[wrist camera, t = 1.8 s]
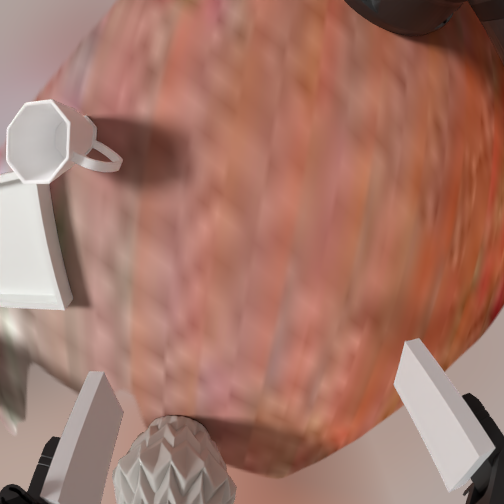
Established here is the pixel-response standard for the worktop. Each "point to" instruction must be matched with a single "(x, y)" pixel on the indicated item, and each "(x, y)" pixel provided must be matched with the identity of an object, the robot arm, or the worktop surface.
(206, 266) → the worktop surface
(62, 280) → the bin
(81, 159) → the cup
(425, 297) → the worktop surface
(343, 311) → the worktop surface
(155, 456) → the vase
